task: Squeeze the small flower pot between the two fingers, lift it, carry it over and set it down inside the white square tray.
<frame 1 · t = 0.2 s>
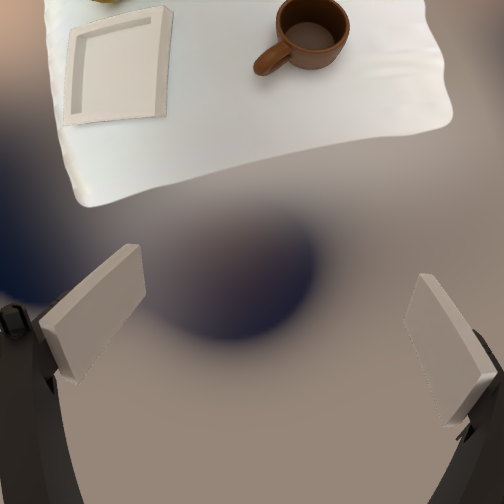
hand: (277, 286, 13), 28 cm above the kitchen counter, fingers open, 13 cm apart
mug: (296, 54, 32), on the kitchen counter
white square tray: (119, 68, 35), on the kitchen counter
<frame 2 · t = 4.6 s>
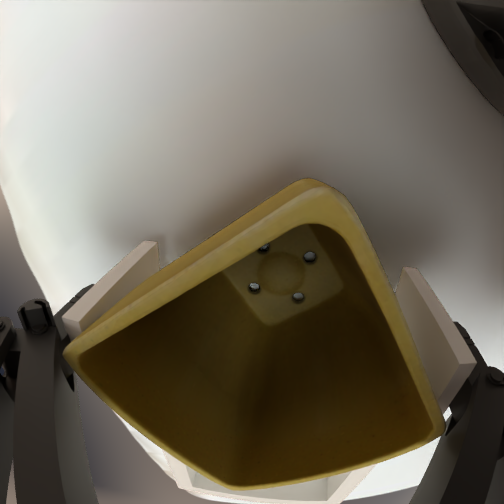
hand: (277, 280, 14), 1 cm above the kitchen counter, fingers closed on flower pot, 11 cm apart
white square tray: (270, 440, 21), on the kitchen counter
flower pot: (279, 266, 15), on the kitchen counter, touching gripper
when the fingers open (5 cm above the kitchen counter, at t = 10.5 s): flower pot drops 1 cm, resting on white square tray.
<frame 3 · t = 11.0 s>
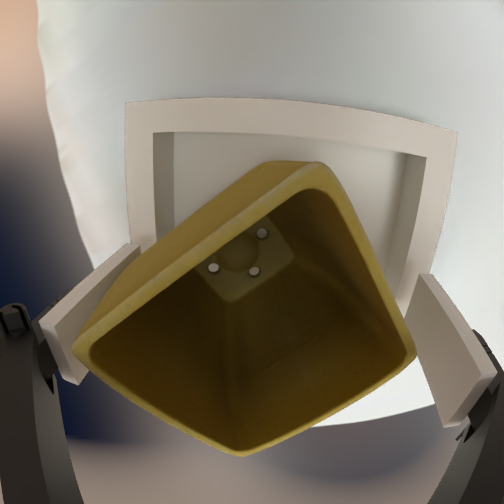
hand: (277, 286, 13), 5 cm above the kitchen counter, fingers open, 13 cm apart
white square tray: (282, 242, 18), on the kitchen counter
flower pot: (234, 245, 17), point 2 cm above the kitchen counter, touching white square tray, gripper
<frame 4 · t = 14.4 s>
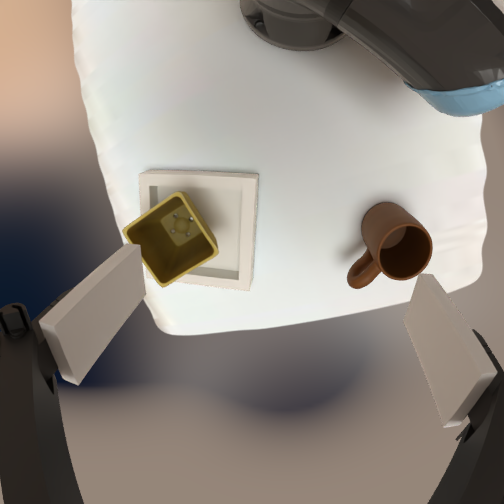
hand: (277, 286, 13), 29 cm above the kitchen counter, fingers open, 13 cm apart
mug: (373, 235, 41), on the kitchen counter
white square tray: (201, 225, 44), on the kitchen counter
flower pot: (181, 223, 43), point 1 cm above the kitchen counter, touching white square tray
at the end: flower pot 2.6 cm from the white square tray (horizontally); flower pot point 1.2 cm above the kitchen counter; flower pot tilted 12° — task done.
